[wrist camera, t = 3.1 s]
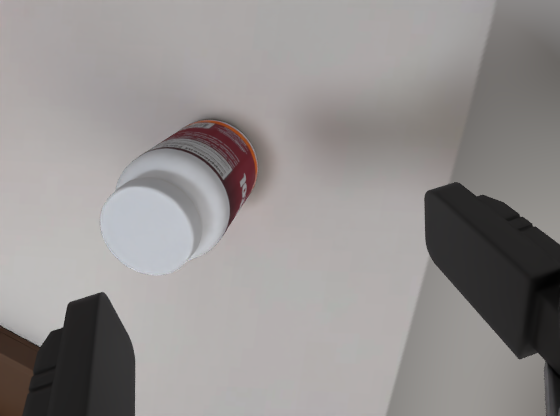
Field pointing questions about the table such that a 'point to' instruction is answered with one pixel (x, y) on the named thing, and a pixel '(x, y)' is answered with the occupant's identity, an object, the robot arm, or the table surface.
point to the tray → (15, 372)
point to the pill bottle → (179, 197)
